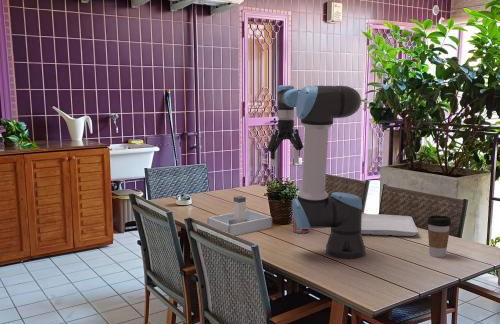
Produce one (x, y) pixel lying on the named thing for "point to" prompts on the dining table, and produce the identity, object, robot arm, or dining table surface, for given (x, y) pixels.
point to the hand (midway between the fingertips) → (285, 164)
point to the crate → (241, 223)
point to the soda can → (297, 229)
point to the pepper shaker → (239, 209)
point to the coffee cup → (438, 235)
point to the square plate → (388, 225)
